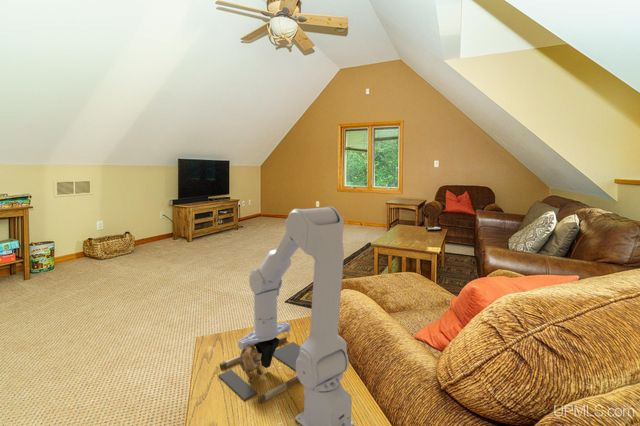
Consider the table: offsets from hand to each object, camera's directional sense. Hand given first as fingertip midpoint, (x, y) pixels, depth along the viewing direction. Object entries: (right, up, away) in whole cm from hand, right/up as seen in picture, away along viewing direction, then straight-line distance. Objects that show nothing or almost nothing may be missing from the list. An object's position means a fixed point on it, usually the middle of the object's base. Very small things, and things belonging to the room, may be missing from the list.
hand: (265, 365), depth 85 cm
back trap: (+7, -1, +7) cm, 10 cm away
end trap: (-6, -2, -6) cm, 8 cm away
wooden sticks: (+2, -1, +2) cm, 3 cm away
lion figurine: (-2, -1, -1) cm, 2 cm away
